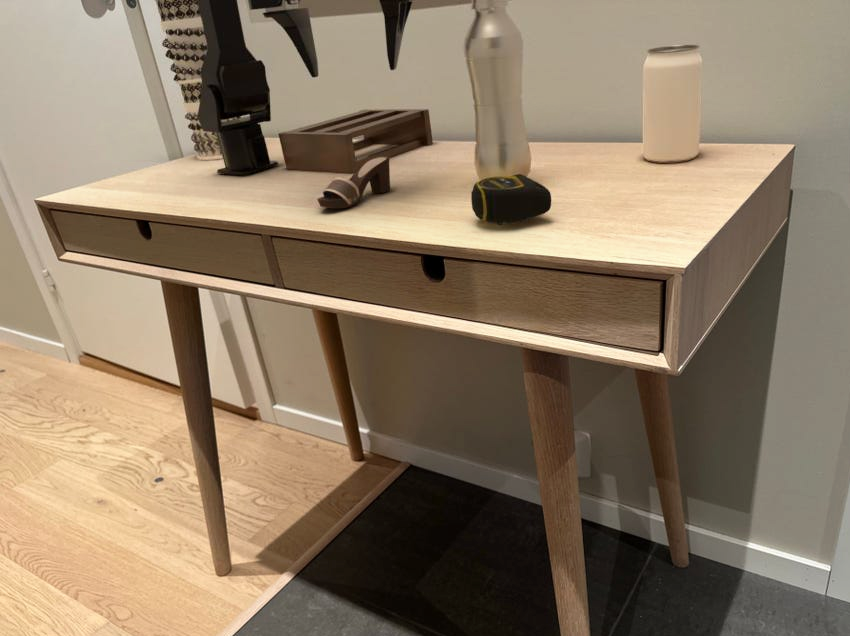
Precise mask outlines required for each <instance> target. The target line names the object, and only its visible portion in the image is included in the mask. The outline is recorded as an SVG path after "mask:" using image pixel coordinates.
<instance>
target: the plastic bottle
mask: <svg viewBox="0 0 850 636" xmlns="http://www.w3.org/2000/svg"><path fill="white" fill-rule="evenodd" d="M506 6H509V0H471V6H470V8H471V10H474V16H473V18H472V21H471V23H470V25H469V27H468V29H467V31H466V34H465V37H464V39H463V47H462V50H463V56H464V58H465V64H466V69H467V73H468V77H469V82H470V87H471V93H472V99H473V109H474V119H475V120H474V122H475V123H474V124H475V125H474V126H475V127H474V128H475V145H474V159H473V161H474V162H473V163H474V168H475V172H476V176H477V178H478V179H479V181H480V180H483V179H486V178H490V177H497V176H513V175H517V174H522V175H524V176H526V177H527V178H528V176H529V174H530V172H531V168H532V153H531V149H530V144H529V140H528V139H527V131H526V124H525V117H524V112H523V110H524V109H523V98H522V94H523V87H522V86H523V84H522V75H523V60H524V59H523V58H524V53H523V52H524V39H523V36H522V33H521V31H520V29H519V28H518V26H517V25H516V23H515V22H514V20H513V19H512V18H511V17H510V15H509V14H508V13H507V9H506Z"/></svg>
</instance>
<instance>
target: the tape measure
mask: <svg viewBox="0 0 850 636" xmlns="http://www.w3.org/2000/svg"><path fill="white" fill-rule="evenodd" d="M470 193H471V194H470V199H471V208H472V211H473V213H474V216H475V217H477V218H478V219H479V220H480V221H483V222H487V223H493V224H496V225H498V226H502V225H505V224H512V223H513V224H514V223H520V222H521V223H522V222H523V221H527V220H529V219H532V218H535V217H538V216H539V217H540V216H542V215H544V214H546V213H548V212H549V211H550V210H551V208H552V194H551V191H550V190H549V189H548V188H547V187H546V186H544V185H543V184H541V183H540V182H538V181H535V180H534V179H531V178H530V177H528V176H527V177H526V176H524V175H522V174H517V175H513V176H497V177H490V178H486V179H483V180H480V179H479V180H478V181H477V182H475V183H474V185H473V187H472V190H471V192H470Z"/></svg>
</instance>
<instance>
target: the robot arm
mask: <svg viewBox="0 0 850 636" xmlns="http://www.w3.org/2000/svg"><path fill="white" fill-rule="evenodd" d="M197 1H198V5H199V10H200V15H201V19H202V24H203V28H204V33H205V38H206V42H207V48H208V49H207V52H206V55H205V58H204V61H203V64H202V67H201V71H200V73H201V80H202V87H203V89H202V93H201V99H200V104H199V110H198V115H197V117H198V120H199V122H200V125H201V127H202V129H203V131H205V132H215V133H216V134H217V138H218V141H219V145H220V149H221V153H222V156H223V158H222V160H223V164H224V167H222V168H219V169H217V170H216V171H217V174H225V175H236V176H237V175H238V176H247V175H251V174H253V173H256V172H259V171H263V170H266V169H269V168H272V167H275V166H278V165H279V161H278V160H271V159H270V154H269V151H268V147H267V142H266V137H265V135H264V133H263V130H262V126H261V123H266V122H267V123H268V122H271V121H272V115H271V114H272V113H271V112H272V111H271V110H272V109H271V89H270V86H269V84H268V80H267V79H268V78H267V73H266V65H265V64H264V62H263V60H261V59H259V60H257V59H256V57H255V56H254V55H253V54H252V52H251V51H250V50H249V49H248V47H247V45H246V40H245V34H244V30H243V25H242V19H241V13H240V9H239V8H240V7H239V4H238V0H197ZM301 1H302V0H247V2H248V6H249V10H250V11H253V10H254V11H255V10H264V11H265V12H262V15H263V17H264V18H265V19H267V18H269V19H270V18H271V19H273V20H274V21H275V22H276V23H277V24H278V25H279V26H280V27H281V28H282V29H283V30H284V31H285V33H286V34H287V36H288V37H289V39H290V41H291V42H292V44H293V45H294V48H295V50H296V51H297V53H298V55H299V56H300V58H301V60H302V62H303V64H304V65H305V67H306V70H307V71H308V73H309V74H310V76H311V77H312V78H318V77H319V62H318V57H317V50H316V45H315V39H314V34H313V28H312V22H311V17H310V12H309V11H310V10H309V7H301V8H300V6H299V4H300V3H301ZM378 1H379V4H380V8H381V10H382V14H383V18H384V19H383V20H384V30H385V31H384V32H385V43H386V55H387V61H388V65H389V70H391V71H396V69H397V67H398V61H399V57H400V51H401V47H402V41H403V36H404V33H405V28H406V24H407V22H408V18H409V14H410V11H411V8H412V5H413V2H416V1H417V0H378ZM235 117H241V118H238V119H234V120H229V121H224V122H221V120H226V119H230V118H235Z"/></svg>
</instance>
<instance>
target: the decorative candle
mask: <svg viewBox="0 0 850 636" xmlns="http://www.w3.org/2000/svg"><path fill="white" fill-rule="evenodd" d="M154 1H155V3H156V5H157V10H158V14H159V17H160V20H161V21H160V22H159V23H160V26H161V29H162V32H163V33H165V37H164V39H163V40H162V43H161V45H162V46H163V47H164V48H166V49H167V50H166V52H165V54H164V56H165V57H166V58H168V59H170V60H171V61H173V62H172V64H171V65H170V71H171V72H173V73H174V74H175V75H174V77H173V81H174V82H175V84H176V85H179V87H180V90H181V94H182V97H183V101H184V102H183V106H184V109H185V110H184V111H185V112H186V114H185V115H184V118H185V119H186V120H188V121H190V123H189V124H188V125H187V128H188V129H189V130H192V134H191V136H190V140H191V141H192V142H193V143H195V144H194V146H193V150H194V151H195V152H197V153H198V154H197V155H196V159H197V160H200V161H213V160H220V159H221V160H223V156H222V153H221V149H220V145H219V141H218V138H217V134H216V133H215V132H205V131H203V129H202V127H201V125H200V122H199V120H198V117H197V115H198V110H199V104H200V99H201V93H202V89H203V87H202V80H201V73H200V71H201V67H202V64H203V61H204V58H205V55H206V52H207V49H208V48H207V42H206V38H205V33H204V28H203V24H202V19H201V15H200V10H199V5H198V1H197V0H154ZM238 118H242V116H240V117H235V118H230V119H226V120H221V122H224V121H229V120H234V119H238Z"/></svg>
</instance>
